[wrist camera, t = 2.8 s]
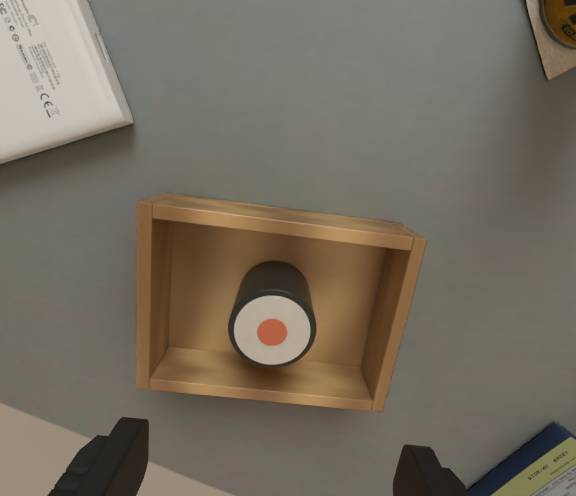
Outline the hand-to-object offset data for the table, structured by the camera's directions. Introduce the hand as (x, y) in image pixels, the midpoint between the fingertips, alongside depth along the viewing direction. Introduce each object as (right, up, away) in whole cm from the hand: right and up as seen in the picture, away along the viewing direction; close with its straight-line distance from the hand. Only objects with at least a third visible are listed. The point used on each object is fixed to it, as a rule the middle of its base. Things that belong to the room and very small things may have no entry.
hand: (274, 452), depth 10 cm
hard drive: (-16, +16, +9) cm, 24 cm away
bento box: (0, +3, +13) cm, 13 cm away
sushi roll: (0, +3, +12) cm, 12 cm away
